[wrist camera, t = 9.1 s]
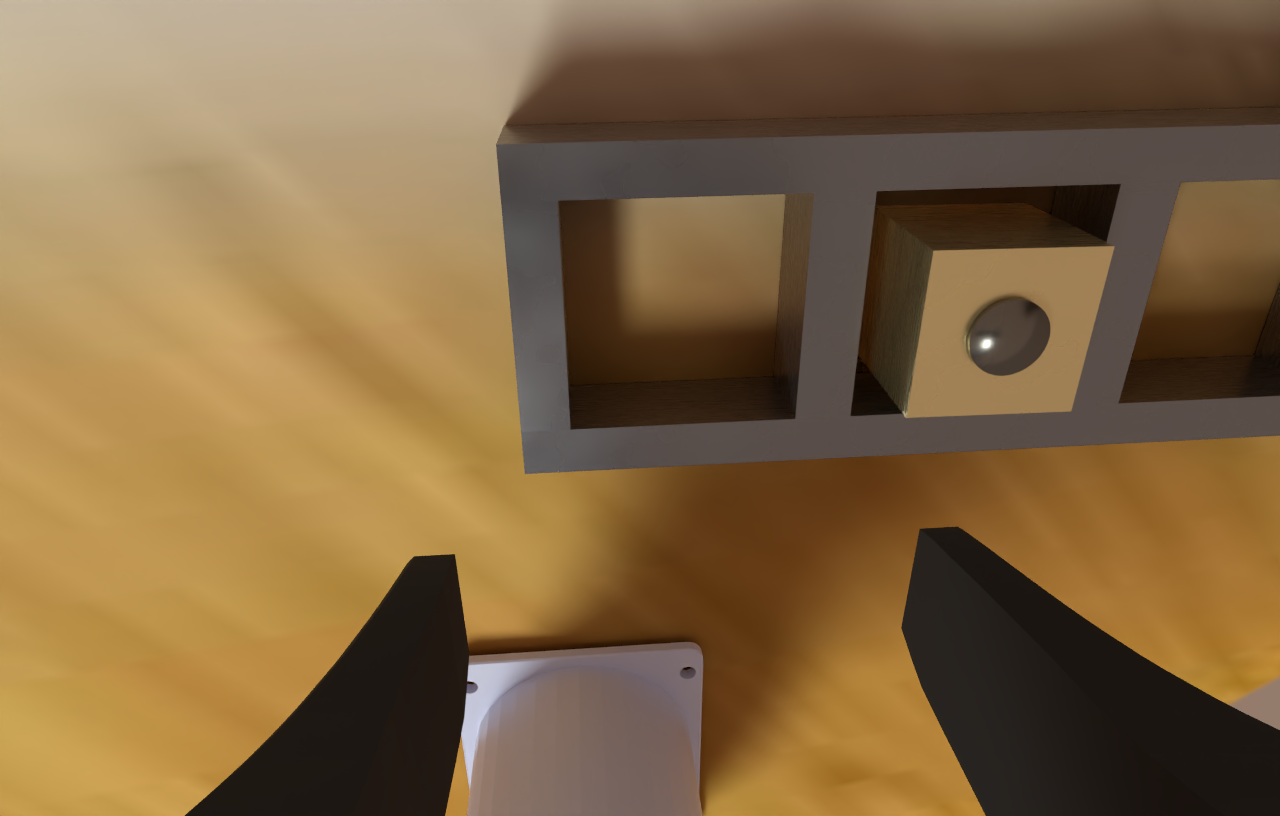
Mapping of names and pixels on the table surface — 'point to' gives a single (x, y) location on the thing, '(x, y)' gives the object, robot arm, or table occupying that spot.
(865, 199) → the grey flat rectangular frame
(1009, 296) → the drawer with knob
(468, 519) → the table surface
